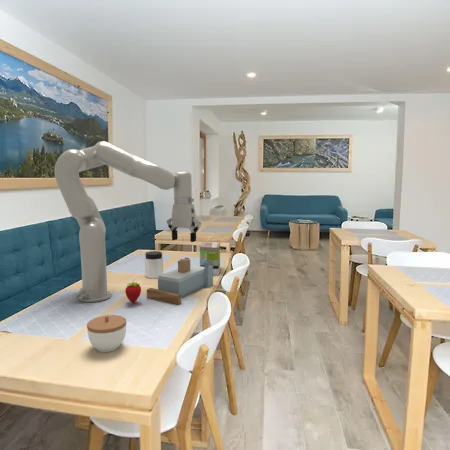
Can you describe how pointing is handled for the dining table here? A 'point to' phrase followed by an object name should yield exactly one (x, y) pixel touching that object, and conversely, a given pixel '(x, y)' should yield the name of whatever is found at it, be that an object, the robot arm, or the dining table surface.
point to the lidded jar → (106, 332)
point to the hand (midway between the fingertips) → (183, 240)
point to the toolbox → (189, 282)
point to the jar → (153, 264)
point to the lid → (182, 271)
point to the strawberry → (133, 292)
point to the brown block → (164, 296)
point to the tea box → (210, 255)
